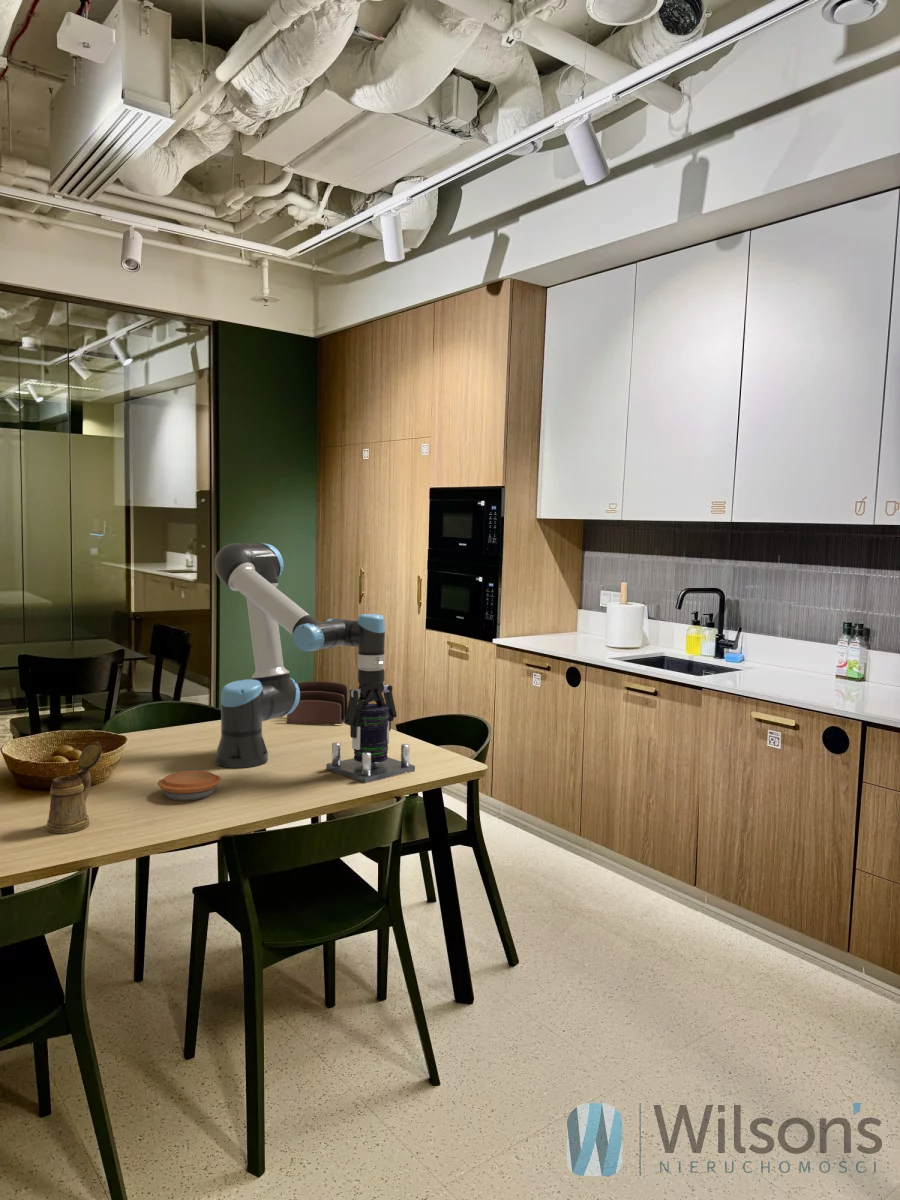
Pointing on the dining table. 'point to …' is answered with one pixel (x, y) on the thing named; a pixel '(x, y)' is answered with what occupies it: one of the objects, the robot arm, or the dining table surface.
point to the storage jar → (373, 733)
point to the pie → (189, 785)
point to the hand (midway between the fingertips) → (370, 745)
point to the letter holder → (320, 703)
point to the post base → (375, 769)
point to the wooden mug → (72, 795)
